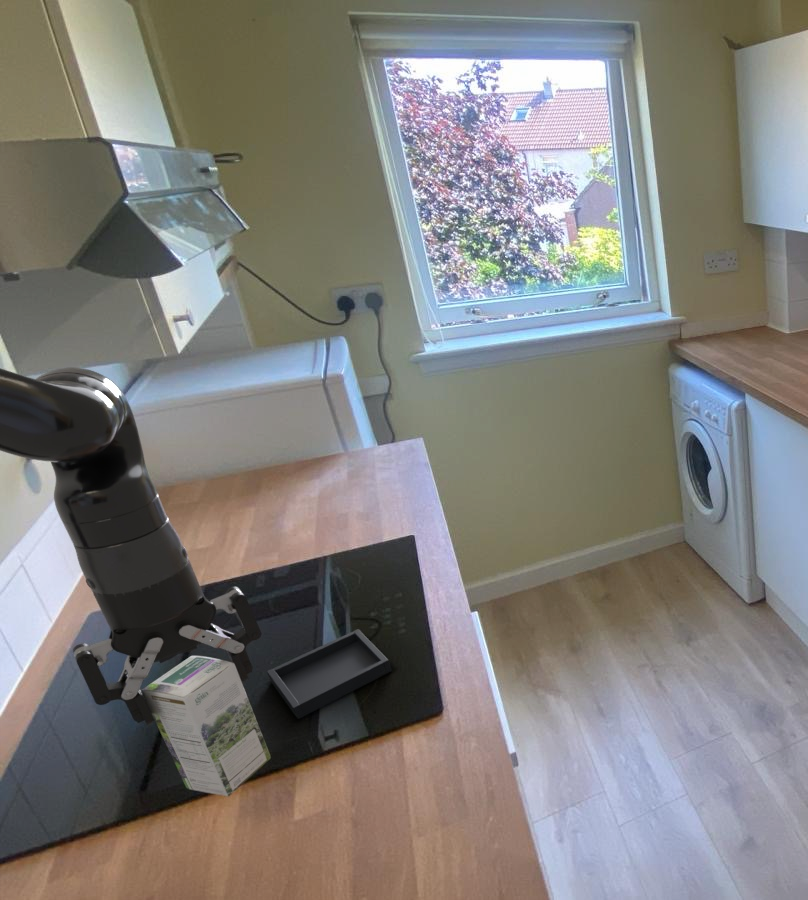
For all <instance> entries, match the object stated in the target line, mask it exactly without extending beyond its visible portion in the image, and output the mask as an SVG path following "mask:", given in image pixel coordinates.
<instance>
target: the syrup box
mask: <svg viewBox="0 0 808 900" xmlns="http://www.w3.org/2000/svg"><path fill="white" fill-rule="evenodd" d="M141 692H142V694H143V696H144V698H145V700H146V702H147V705H148V707H149V709H150V711H151V713H152V715H153V717H154V719H155V722H154V723H156V726H157V728H158V730H159V732H160V734H161V737H162V739H163V741H164V743H165V745H166V747H167V749H168V752H169V753H170V755H171V757H172V760H173V762H174V764H175V767H176V768H177V771H178V773H179V775H180V777H181V780H182V782H183V784H184V786H185V788H186V789H187V790H191V791H195V792H196V791H197V792H202V793H206V794H212V795H218V796H223V797H230V796H231V795H232V794H234V793H235V792H236V791H237V790H238V789H239V788H240V787H241V786H242V785H243V784H244V783H246V781H248V780H249V779H250V778H251V777H252V776H254V774H255V773H256V772H258V771H259V770H260V769H261V768H262V767H263V766H264V765H265V764H267V762H269V761H270V760H271V758H272V757H271V754H270V751H269V749H268V746H267V743H266V741H265V738H264V736H263V733H262V731H261V728H260V725H259V723H258V721H257V718H256V715H255V713H254V711H253V708H252V705H251V703H250V700H249V697H248V695H247V692H246V689H245V687H244V684H243V681H242V682H241V679H240V677H239V674H238V671H237V669H236V666H235V664H234V663H232V662H231V661H228V660H224V659H220V658H215V657H210V656H203V655H191V656H189V657H188V658H186V659H185V660H183V661H181V662H180V663H179V664H177V665H176V666H174V667H172V668H171V669H170V670H168V671H167V672H166V673H164V674H162V675H161V676H159V677H158V678H156V679H155V680H154V681H152V682H151V683H150V684H148V685H147V686H145V687H144V688H142V689H141Z"/></svg>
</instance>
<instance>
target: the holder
mask: <svg viewBox="0 0 808 900" xmlns="http://www.w3.org/2000/svg"><path fill="white" fill-rule="evenodd" d="M391 672H393V669H392V666H391V663H390V660H389V659H388V658H387V657H386V655H384V654H383V652H381V650H379V649H378V647H376V645H375V644H374V643H373V642H372V641H370V640H369V638H367V636H365V634H364V633H363V632H362V631H361V630H360V629H359V628H358V629H355V630H353V631H350V632H349V633H346V634H345V635H344V634H343V635H342V636H340V637H338V638H336V639H333V640H331V641H329V642H327V643H324V644H323V645H320V646H318V647H316V648H314V649H311V650H309V651H308V652H305V653H304V654H301V655H299V656H296V657H295V658H293V659H290V660H289V661H287V662H284V663H282V664H279V665H277V666H275V667H272V668H271V669H269V670H267V671H266V673H267V675H268V677H269V680H270V682H271V684H272V685H273V686H274V688H275V690H276V691H277V693H278V694H279V695H280V697H281V698H282V699H283V701H284V702H285V704H286V705H287V707H289V709H290V710H291V712H292V713H293V714H294V716H295V717H296V719H297V720H300V719H302V718H304V717H306V716H308V715H309V714H311V713H314V712H315V711H317V710H319V709H321V708H323V707H325V706H327V705H329V704H331V703H333V702H334V701H337V700H339V699H341V698H343V697H345V696H346V695H348V694H351V693H352V692H355V691H357V690H358V689H360V688H361V687H364V686H366V685H367V684H370V683H372V682H373V681H376V680H377V679H379V678H381V677H383V676H385V675H387V674H389V673H391Z"/></svg>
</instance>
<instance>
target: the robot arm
mask: <svg viewBox="0 0 808 900" xmlns="http://www.w3.org/2000/svg"><path fill="white" fill-rule="evenodd" d="M140 437H141V436H140V434H139V429H138V426H137V422H136V419H135V416H134V413H133V410H132V408H131V405H130V403H129V401H128V399H127V397H126V395H125V394H124V392H123V391H122V389H121V388H120V387H119V386H118V385H117V384H116V383H115V382H114V381H113V380H111V379H110V378H108V377H107V376H105V375H104V374H101V373H99V372H97V371H94V370H92V369H87V368H82V367H62V368H55V369H53V370H50V371H47V372H44V373H42V374H41V375H39V376H37V377H36V378H32V377H29V376H27V375H25V376H24V375H22V374H19V373H16V372H14V371H10V370H7V369H4V368H0V452H3V453H7V454H9V455H13V456H16V457H21V458H25V459H27V460H28V459H29V460H35V461H41V462H49V463H50V464H51V466H52V469H53V472H54V477H55V486H54V490H53V500H54V501H53V502H54V505H55V509H56V512H57V513H58V516H59V518H60V520H61V522H62V524H63V526H64V529H65V530H66V532H67V534H68V536H69V539H70V541H71V543H72V544H73V547H74V550H75V553H76V557H77V561H78V565H79V568H80V570H81V572H82V574H83V576H84V578H85V582H86V584H87V586H88V587H89V589H90V590H91V592H92V594H93V596H94V599H95V601H96V602H97V604H98V606H99V609H100V611H101V613H102V615H103V617H104V619H105V621H106V623H107V625H108V627H109V629H110V633H109V637H108V638H106V639H103V640H101V641H98V642H95V643H91V644H90V645H89V644H88V643H79V644H76V645H75V646H74V647H73V649H72V653H73V656H74V659H75V661H76V664H77V667H78V669H79V670H80V673H81V675H82V677H83V679H84V681H85V684H86V686H87V687H88V690H89V692H90V694H91V696H92V699H93V701H94V703H95V704H96V705H99V706H104V705H107V704H109V703H111V702H112V701H118V700H119V701H123V702H124V703H125V705H126V707H127V709H128V711H129V713H130V715H131V717H132V719H133V721H135V722H136V723H138V724H139V723H142V722H145V724H146V726H148V725H150V724H152V723H156V722H155V719H154V717H153V715H152V713H151V711H150V709H149V707H148V705H147V702H146V700H145V698H144V696H143V694H142V689H141V686H142V684H143V682H144V680H145V679H147V678H148V676H149V673H150V671H151V669H152V666H153V664H154V663H159V664H162V663H165V662H167V661H170V660H171V659H174V658H175V657H176V656H177V655H180V654H185V653H189V652H191V651H194V650H197V649H198V646H200V645H201V643H202V644H204V645H207V646H209V647H213V648H215V649H222V650H224V651H225V652H226V653H227V655H228V658H229V660H230V662H232V663H234V664H235V666H236V669H237V671H238V674H239V677H240V679H241V682H242V683H243V682H244V681H247V680H249V679H250V678H249V675H248V674H250V673H252V672H253V666H252V662H251V659H250V658H249V654H248V653H247V650H246V649H247V646H248V645H249V644H250V643H251V642H253V641H257V640H259V639H260V638H261V637H262V631H261V629H260V626H259V624H258V622H257V619H256V617H255V615H254V612H253V610H252V608H251V606H250V604H249V601H248V599H247V596H246V595H245V594H244V592H242V590H241V589H240V588H239V587H238V586H230V587H229V588H227V589H226V592H225V593H224V594H222V595H220V596H217V597H215V598H212V599H209V598H208V597H206V596H205V595H204V592H203V590H202V587H201V585H200V582H199V581H198V580H199V579H198V578H197V576H196V575H197V574H196V573H195V571H194V568H193V565H192V564H191V561H190V558H189V556H188V555H189V554H188V553H189V552H188V550H187V548H186V547H185V546H184V544H183V542H182V540H181V538H180V535H179V533H178V531H177V530H176V528H175V527H174V526H173V523H172V522H171V521H170V519H169V516H168V514H167V512H166V509H165V507H164V504H163V503H162V500H161V498H160V495H159V493H158V490H157V488H156V486H155V484H154V483H153V481H152V479H151V477H150V474H149V472H148V469H147V466H146V460H145V456H144V450H143V446H142V442H141V438H140ZM218 610H223V611H224V612H225V613H226V614H229V615H233V614H235V617H236V619H237V621H238V624H239V625H240V627H241V628H240V629H238V630H237V631H236V632H235V633H233V632H231V631H228V630H225V629H223V628H221V627H220V626H218V625H216V624H214V623H212V622H213V620H214V618H215V616H216V614H217V611H218ZM113 651H115V652H116V653H119V654H122V655H126V659H125V661H124V663H123V664H124V665H123V666H124V667H123V670H122V672H121V674H120V676H119V678H118V680H117V681H115V682H109V683H107V682H106V679H105V677H104V675H103V672H102V670H101V668H100V667H102V666H103V665H105V664H106V663H107V662H108V655H109V653H111V652H113Z"/></svg>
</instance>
